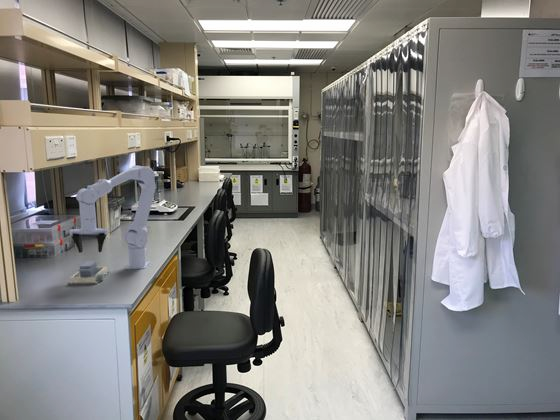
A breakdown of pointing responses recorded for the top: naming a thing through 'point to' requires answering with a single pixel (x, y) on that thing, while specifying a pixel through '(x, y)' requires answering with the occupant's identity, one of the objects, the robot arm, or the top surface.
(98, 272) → the frame
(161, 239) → the top surface
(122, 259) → the top surface
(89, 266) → the block
